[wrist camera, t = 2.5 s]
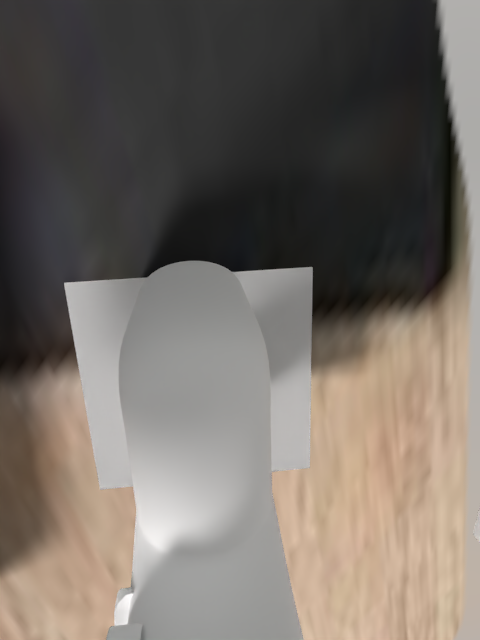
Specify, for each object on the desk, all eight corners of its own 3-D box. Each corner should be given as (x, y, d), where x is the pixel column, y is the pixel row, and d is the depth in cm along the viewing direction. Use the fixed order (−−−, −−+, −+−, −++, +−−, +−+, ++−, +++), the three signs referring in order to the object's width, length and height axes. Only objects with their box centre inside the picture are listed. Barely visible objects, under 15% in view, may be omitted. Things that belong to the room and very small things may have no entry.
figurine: (287, 214, 17) (805, 518, 3) (288, 435, 20) (528, 1095, 6) (84, 225, 16) (-604, 697, 2) (119, 451, 19) (-60, 1236, 5)
